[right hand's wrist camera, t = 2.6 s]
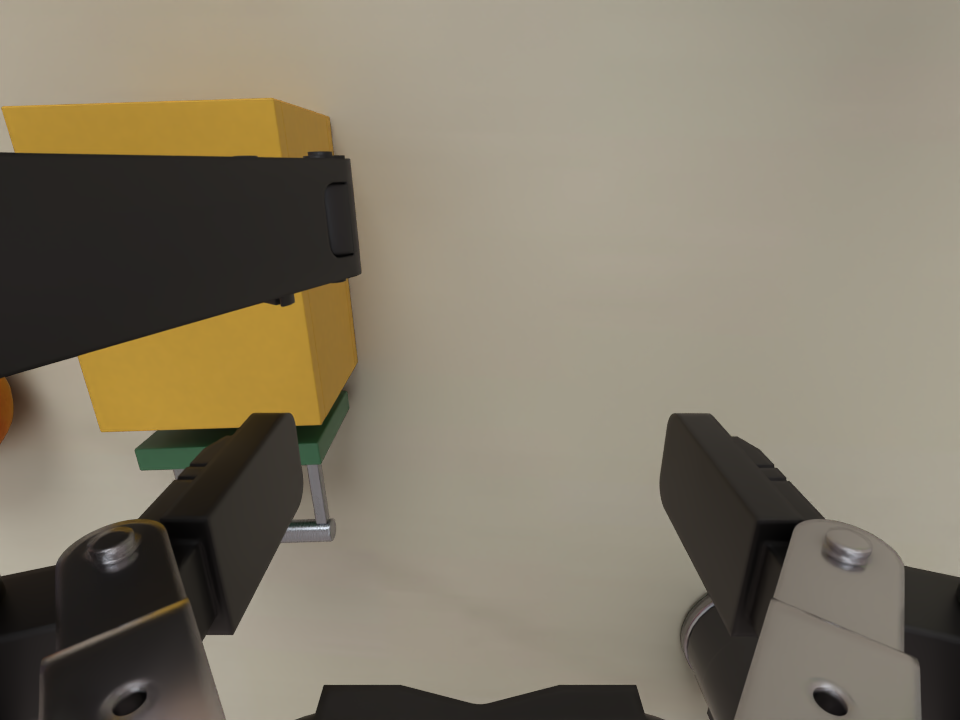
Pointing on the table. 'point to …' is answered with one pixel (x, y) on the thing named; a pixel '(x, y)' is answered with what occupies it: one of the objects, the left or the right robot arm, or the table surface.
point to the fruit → (5, 408)
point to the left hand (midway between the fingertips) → (111, 209)
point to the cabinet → (221, 339)
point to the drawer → (187, 443)
